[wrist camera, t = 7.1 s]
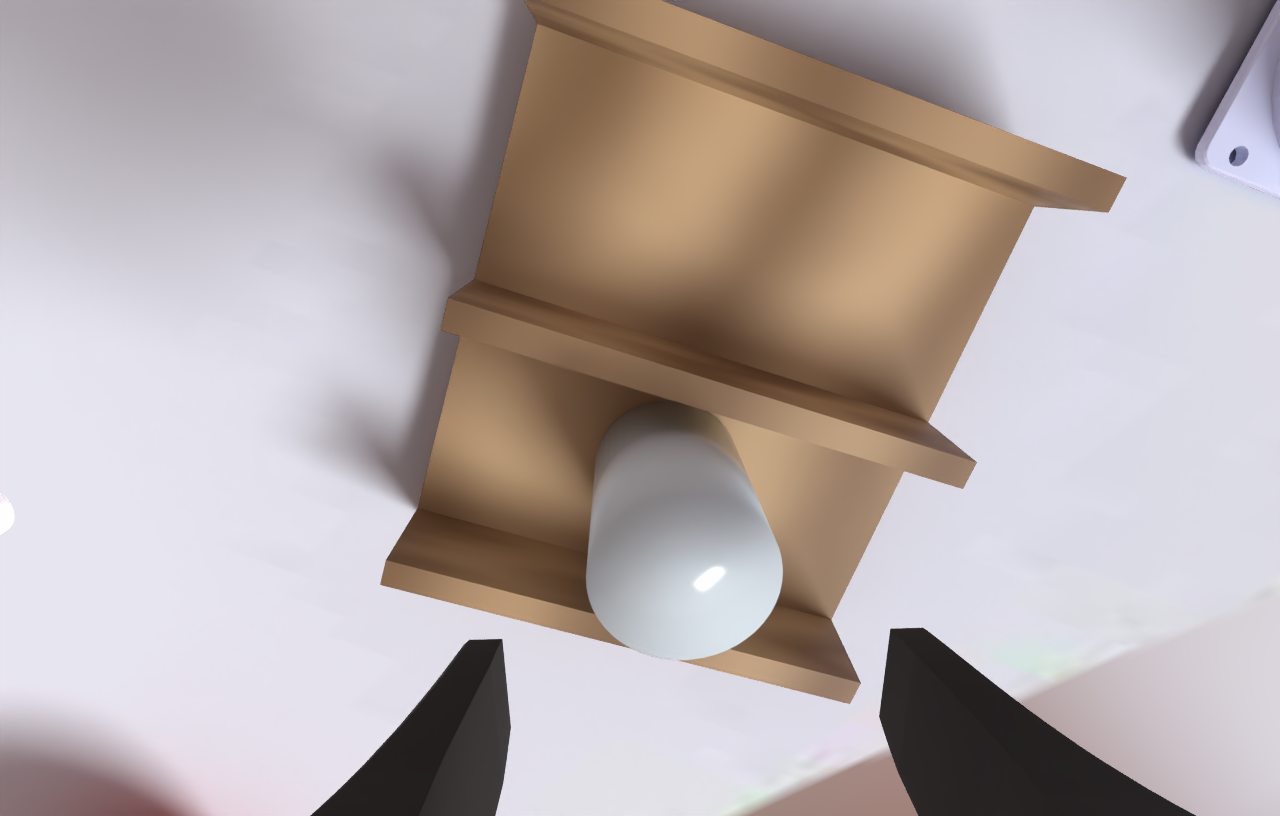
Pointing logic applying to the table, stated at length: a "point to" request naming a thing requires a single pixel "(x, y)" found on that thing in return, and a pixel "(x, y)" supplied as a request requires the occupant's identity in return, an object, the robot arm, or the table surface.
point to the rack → (714, 309)
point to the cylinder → (678, 536)
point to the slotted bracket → (5, 514)
